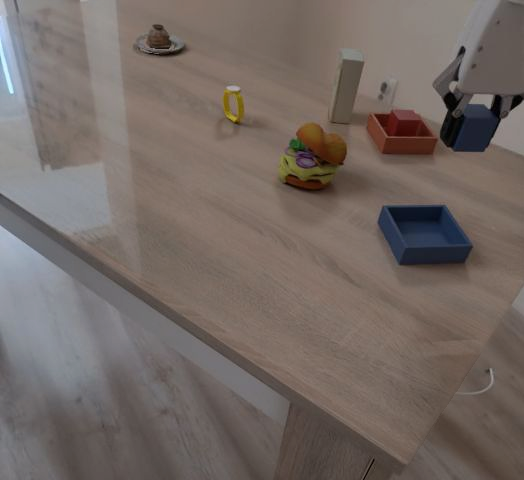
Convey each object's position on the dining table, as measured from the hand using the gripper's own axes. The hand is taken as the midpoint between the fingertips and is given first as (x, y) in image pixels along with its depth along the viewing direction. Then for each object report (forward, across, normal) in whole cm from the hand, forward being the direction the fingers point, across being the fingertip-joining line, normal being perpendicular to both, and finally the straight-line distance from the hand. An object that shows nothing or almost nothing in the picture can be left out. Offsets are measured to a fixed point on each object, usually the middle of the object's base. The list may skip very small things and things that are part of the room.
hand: (463, 141), depth 66 cm
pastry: (+15, +42, -77) cm, 89 cm away
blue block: (0, 0, 0) cm, 0 cm away
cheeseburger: (+15, +17, -16) cm, 27 cm away
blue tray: (+14, +2, +3) cm, 15 cm away
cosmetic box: (+15, +5, -40) cm, 43 cm away
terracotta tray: (+14, -5, -30) cm, 34 cm away
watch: (+15, +28, -38) cm, 49 cm away
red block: (+14, -5, -30) cm, 33 cm away
